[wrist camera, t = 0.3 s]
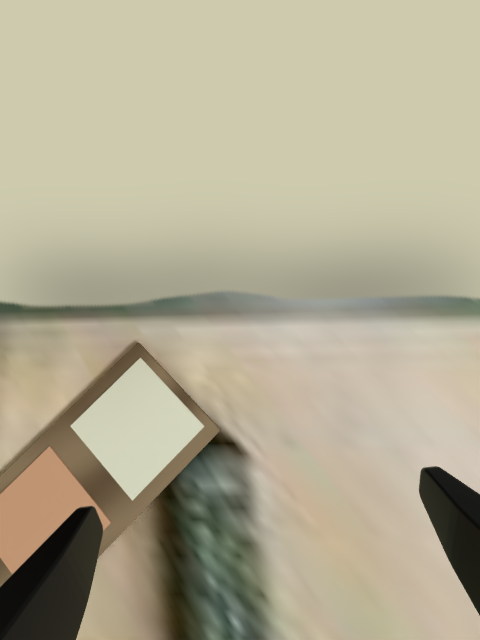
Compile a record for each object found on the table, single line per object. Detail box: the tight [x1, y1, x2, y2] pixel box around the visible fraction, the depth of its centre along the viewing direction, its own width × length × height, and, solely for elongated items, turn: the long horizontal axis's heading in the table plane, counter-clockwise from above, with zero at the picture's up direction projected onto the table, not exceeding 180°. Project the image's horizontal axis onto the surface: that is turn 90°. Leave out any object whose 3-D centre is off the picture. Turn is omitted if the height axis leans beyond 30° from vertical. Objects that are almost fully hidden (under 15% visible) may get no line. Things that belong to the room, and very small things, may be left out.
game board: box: [0, 343, 221, 586], centre depth 23 cm, size 9×26×1 cm, turn 135°
